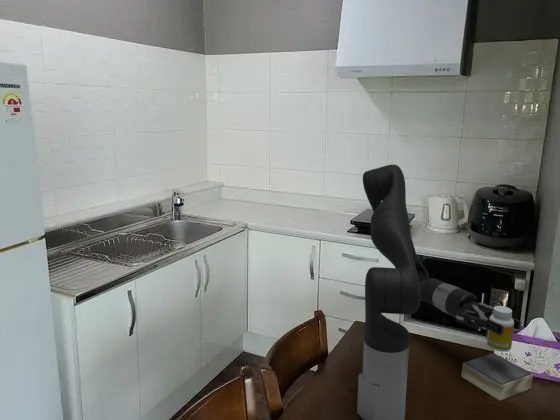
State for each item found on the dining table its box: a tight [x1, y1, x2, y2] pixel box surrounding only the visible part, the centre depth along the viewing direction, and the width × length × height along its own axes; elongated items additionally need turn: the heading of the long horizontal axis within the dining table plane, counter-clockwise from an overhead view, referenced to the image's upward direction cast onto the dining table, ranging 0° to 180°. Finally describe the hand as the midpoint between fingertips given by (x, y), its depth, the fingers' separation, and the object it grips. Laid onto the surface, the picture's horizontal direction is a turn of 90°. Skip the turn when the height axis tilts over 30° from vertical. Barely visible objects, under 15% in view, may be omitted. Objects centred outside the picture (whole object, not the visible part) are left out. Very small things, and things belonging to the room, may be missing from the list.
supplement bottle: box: [486, 305, 515, 353], centre depth 108 cm, size 5×5×10 cm
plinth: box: [461, 352, 534, 402], centre depth 110 cm, size 11×11×4 cm
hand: (510, 328), depth 106 cm, fingers closed on supplement bottle, 5 cm apart
